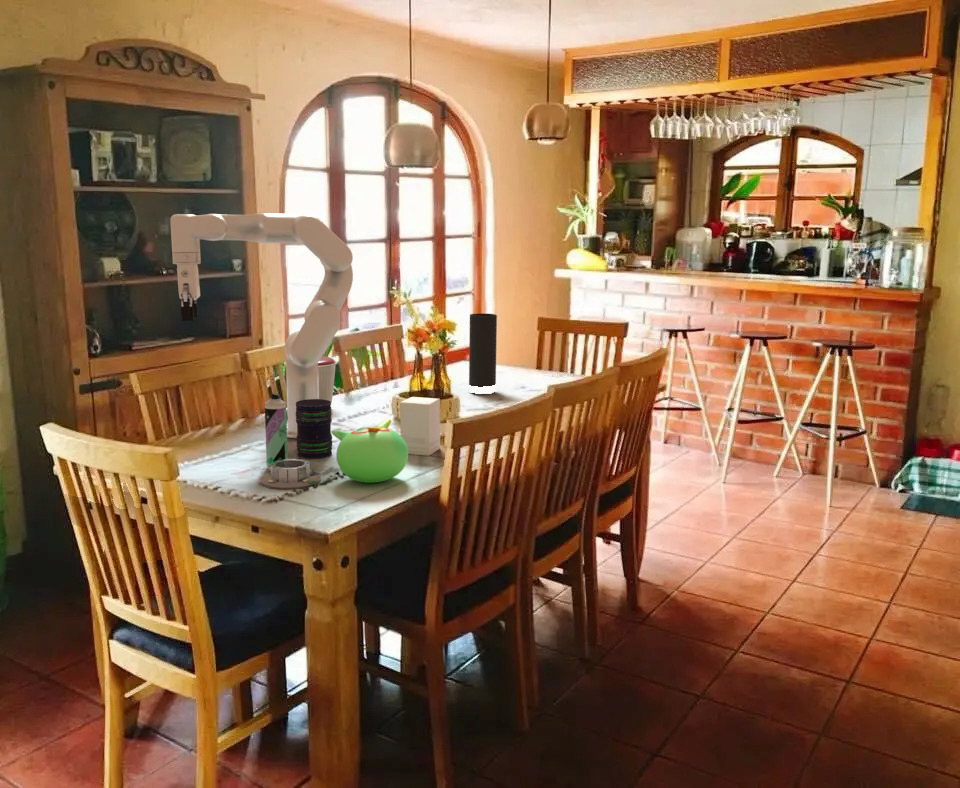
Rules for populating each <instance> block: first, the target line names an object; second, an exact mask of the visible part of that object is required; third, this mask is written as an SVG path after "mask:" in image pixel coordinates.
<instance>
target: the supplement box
mask: <svg viewBox="0 0 960 788" xmlns="http://www.w3.org/2000/svg"><path fill="white" fill-rule="evenodd" d="M399 407H400V408H399V409H400V410H399V411H400V413H399V417H400V418H399V421H400V436H401V437H402V438H403V439H404V441H405V443H406V445H407V448H408V455H416V456H417V455H418V456H427V457H429V456H430V455H432V454H434V453H435V452H437V451H438V450H440V449H441V414H440V413H441V399H440V398H435V397H434V398H433V397H419V396H418V397H417V396H411V397H408V398H406V399H404V400H402V401H400V402H399Z"/></svg>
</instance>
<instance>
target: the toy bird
mask: <svg viewBox="0 0 960 788" xmlns="http://www.w3.org/2000/svg"><path fill="white" fill-rule="evenodd" d="M391 423H392V420H391V419H386V420H384V421H382V422H380V423H379V424H377V425H373V426H366V427H360V428H358V429H355V430H353V431H346V430H341V429H331V435H332V436H334V437H335V438H337V440H339V441H340V442H339V444H338V446H337V449H336V462H337V465H338V468H339V469H340V471H341V473H343V474H344V475H345V476H346V477H348V478H349V479H351V480H354V481H357V482H360V483H374V484H375V483H381V482H385V481H388V480H390V479H391V480H392V478H394V477H396V476H398V475H399V474H400V473H401V472H402V471H403V470H404V469H405V467H406V465H407V464H408V463H407V462H408V460H409V454H408V448H407V445H406V443H405V441H404V439H403V438H402V437H401V434H400V433H398V432H397V431H394V429H393V430H392V429H390V425H391Z"/></svg>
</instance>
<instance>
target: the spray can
mask: <svg viewBox="0 0 960 788" xmlns="http://www.w3.org/2000/svg"><path fill="white" fill-rule="evenodd" d="M279 395H280V394H279V393H278V392H277V393H276V392H273V393H271V397H270V398H269V399H268V400H267V401H265V402H264V425H265V427H264V428H265V450H266V451H265V452H266V455H265V456H266V469H267V470H270V471H271V465H270V464H272V463H273V462H275V461H279V460H284V459H289V457H288V456H289V454H288V453H289V452H288V451H289V450H288V437H287V428H288V418H287V401H284V400H282V398H281V397H279Z"/></svg>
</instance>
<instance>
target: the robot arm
mask: <svg viewBox="0 0 960 788" xmlns="http://www.w3.org/2000/svg"><path fill="white" fill-rule="evenodd" d="M170 235H171V252H172V264H173V265H176V266H177V267H176V270H177V272H176V273H177V286H178V288H177V289H178V295H179V297H178V298H179V299H181V302H180V303H181V306H180V311H181V315H180V316H181V322H193V321H194V319H195V318H198V316H199V315H198V314H199V313H198V303H197V300H198V299H199V298H200V297H201V288H200V275H199V267H198V265H200V264H201V260H202V259H201V242H200V240H205V241H211V242H212V241H213V242H215V241H216V242H217V241H244V242H245V241H246V242H253V243H259V244H293V245H294V244H297V245H299V244H300V245H301V244H302V245H304V246H305V247H306V248H307V249H308V250H309V251H310V252H311V253H312V254H313V255H314V256H315V257H316V258H317V259H319V262H320V264H321V265H322V267H323V268H324V269H323V270H324V276H323V279H322V282H321V284H320V286H319V287H318V290H317V291H316V293H315V295H314V296H313V298H312V300H311V302H310V303H309V304H308V306H307V307H306V309H305V311H304V314H303V315H304V316H303V317H304V318H303V319H304V322H303V324H302V325H301V327H300V330H298V331H297V330H296V331H294V332H293V333H291V334H290V335H288V337H287V338H286V340H285V342H284V343H285V344H284V359H285V361H284V362H286V366H285V371H286V372H285V375H286V377H285V378H286V414H287V438H289V439H297V423H296V402H298V401H301V400H307V399H319V377H318V362H319V360H320V359H321V358H322V356H325V352H326V351H327V349H328V348H329V346H330V344H331V343H332V341H333V339H334V337H335V335H336V334H337V332H338V330H339V328H340V324H341V315H340V311H341V309H342V307H343V305H344V304H345V301H346V299H347V298H348V296H349V294H350V291H351V289H352V285H353V281H354V280H353V279H354V276H353V275H354V273H353V265H352V263H353V259H354V258H353V253H352V250H351V248H350V247H349V246H348V245H347V244H346V243H345V242H344V241H343V240H342V239H341V238H340V237H339V236H338V235H337V234H335V233H334V232H333V231H332V229H330V228H329V227H328V225H326V224H325V223H324V222H323V221H322V220H321V219H320V218H319V217H317V216H316V215H314V214H303V213H302V214H301V213H300V214H298V213H297V214H296V213H295V214H294V213H293V214H292V213H262V212H259V213H251V214H227V213H225V214H222V213H221V214H220V213H219V214H218V213H208V214H200V215H196V214H193V213H192V214H191V213H190V214H189V213H187V214H185V213H184V214H183V213H181V214H180V213H177V214H176V213H175V214H172V216H171V217H170ZM331 424H332V421H331Z"/></svg>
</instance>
